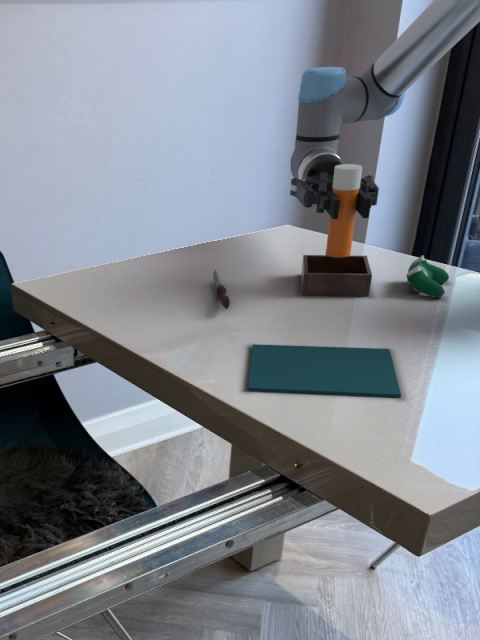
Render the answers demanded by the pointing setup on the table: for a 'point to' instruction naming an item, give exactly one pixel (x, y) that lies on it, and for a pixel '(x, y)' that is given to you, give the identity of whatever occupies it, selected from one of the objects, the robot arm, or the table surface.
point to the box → (335, 275)
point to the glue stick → (344, 210)
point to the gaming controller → (427, 278)
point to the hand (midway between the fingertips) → (351, 209)
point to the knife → (221, 291)
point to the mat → (323, 370)
